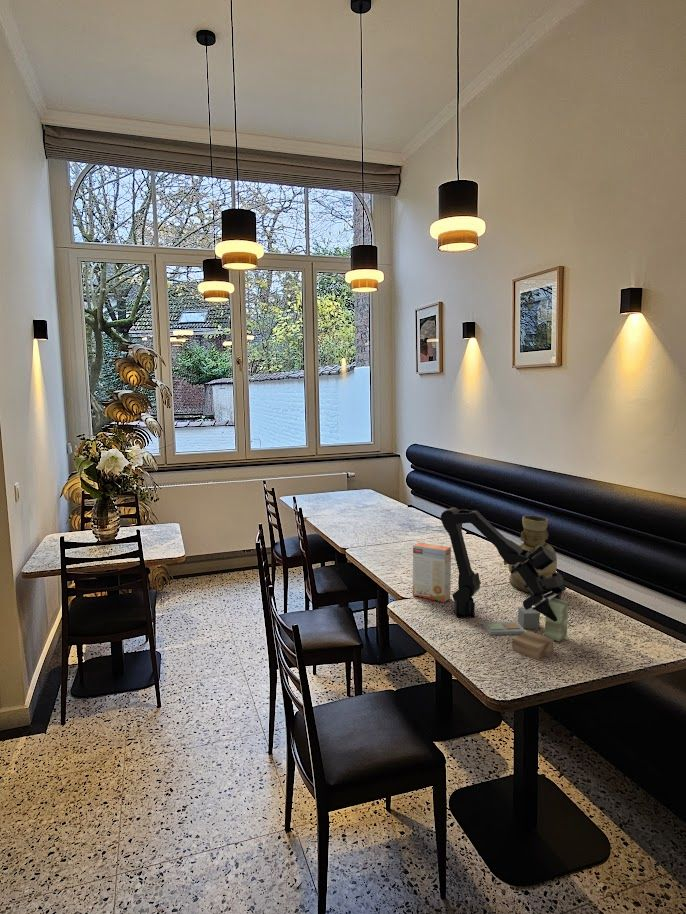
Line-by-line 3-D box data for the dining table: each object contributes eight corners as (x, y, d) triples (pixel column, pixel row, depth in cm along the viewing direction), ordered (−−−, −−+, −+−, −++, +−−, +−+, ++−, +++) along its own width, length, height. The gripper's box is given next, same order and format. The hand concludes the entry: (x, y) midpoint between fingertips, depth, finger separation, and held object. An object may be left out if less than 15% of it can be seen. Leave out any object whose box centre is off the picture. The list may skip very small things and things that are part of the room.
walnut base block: (537, 660, 179) (538, 648, 178) (512, 650, 186) (512, 638, 185) (553, 651, 185) (553, 639, 184) (527, 642, 192) (528, 630, 191)
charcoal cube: (523, 628, 202) (524, 613, 201) (517, 622, 207) (518, 607, 206) (539, 628, 202) (539, 613, 201) (533, 621, 207) (533, 607, 207)
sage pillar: (558, 641, 190) (560, 605, 189) (544, 636, 194) (546, 601, 193) (566, 637, 193) (568, 602, 192) (552, 632, 197) (554, 598, 196)
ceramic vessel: (502, 578, 254) (504, 510, 250) (554, 582, 248) (557, 513, 244) (501, 593, 236) (503, 520, 232) (557, 598, 229) (560, 523, 226)
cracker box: (450, 598, 230) (452, 546, 227) (444, 603, 225) (445, 550, 222) (418, 591, 238) (419, 541, 235) (411, 596, 233) (412, 544, 230)
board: (489, 634, 196) (489, 631, 196) (482, 625, 204) (482, 621, 204) (524, 633, 197) (524, 630, 197) (516, 624, 205) (516, 620, 205)
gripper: (532, 571, 188) (562, 614, 181) (562, 560, 200) (592, 600, 193) (510, 588, 195) (538, 630, 188) (540, 576, 207) (568, 615, 200)
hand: (560, 618), depth 192 cm, fingers closed on sage pillar, 5 cm apart
